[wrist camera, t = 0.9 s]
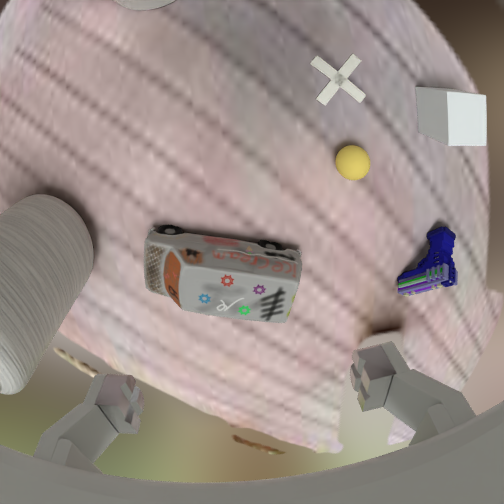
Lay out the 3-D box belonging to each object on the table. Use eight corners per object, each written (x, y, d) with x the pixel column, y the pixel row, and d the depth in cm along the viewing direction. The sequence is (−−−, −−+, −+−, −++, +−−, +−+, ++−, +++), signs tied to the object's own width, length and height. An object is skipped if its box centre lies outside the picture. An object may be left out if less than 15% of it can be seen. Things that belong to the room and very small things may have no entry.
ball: (330, 143, 41) (339, 151, 37) (362, 140, 40) (374, 148, 36) (333, 175, 43) (342, 187, 39) (364, 172, 43) (375, 183, 39)
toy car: (152, 220, 48) (132, 253, 39) (301, 242, 50) (310, 279, 41) (152, 272, 53) (136, 309, 45) (286, 292, 55) (291, 331, 47)
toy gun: (458, 234, 45) (459, 286, 41) (409, 254, 57) (405, 300, 53) (445, 224, 44) (446, 279, 40) (395, 247, 56) (391, 294, 52)
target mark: (294, 83, 36) (294, 83, 36) (331, 37, 32) (331, 37, 32) (344, 121, 39) (344, 121, 39) (380, 77, 35) (380, 77, 35)
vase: (71, 165, 42) (-79, 288, 14) (123, 262, 52) (42, 424, 24) (9, 207, 46) (-99, 313, 17) (56, 285, 56) (-18, 408, 27)
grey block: (415, 86, 35) (446, 91, 28) (452, 88, 34) (485, 95, 27) (418, 132, 39) (448, 145, 31) (454, 132, 38) (486, 145, 31)
